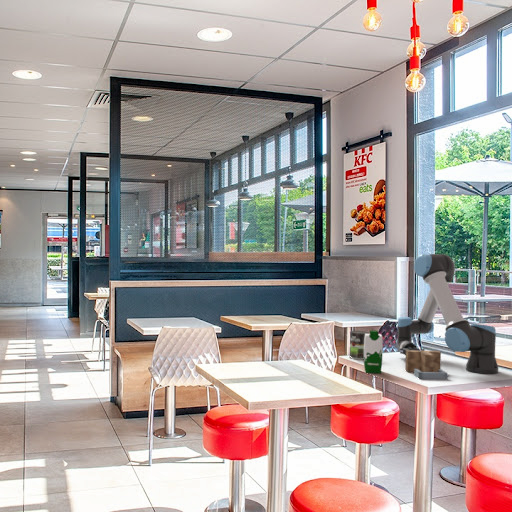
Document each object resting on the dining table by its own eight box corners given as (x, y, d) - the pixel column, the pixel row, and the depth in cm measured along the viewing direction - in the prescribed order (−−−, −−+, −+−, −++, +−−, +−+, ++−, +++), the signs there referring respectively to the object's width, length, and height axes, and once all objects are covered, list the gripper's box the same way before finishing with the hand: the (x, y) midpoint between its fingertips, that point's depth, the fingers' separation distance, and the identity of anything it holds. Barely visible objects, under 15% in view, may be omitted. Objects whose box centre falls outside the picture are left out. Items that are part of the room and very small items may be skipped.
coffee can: (360, 360, 327) (361, 333, 327) (345, 357, 335) (346, 331, 335) (372, 358, 334) (373, 332, 334) (357, 355, 342) (357, 330, 342)
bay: (441, 375, 291) (441, 369, 291) (447, 379, 282) (447, 373, 282) (414, 375, 291) (414, 368, 291) (419, 379, 282) (419, 372, 282)
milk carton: (364, 373, 293) (365, 331, 292) (362, 369, 302) (363, 328, 301) (382, 374, 292) (383, 332, 291) (380, 370, 301) (381, 329, 300)
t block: (437, 371, 302) (438, 350, 302) (445, 376, 290) (446, 355, 290) (405, 370, 302) (405, 350, 302) (411, 375, 290) (412, 354, 290)
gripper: (420, 356, 325) (433, 364, 302) (396, 355, 325) (407, 364, 302) (421, 342, 325) (434, 349, 302) (396, 341, 325) (407, 348, 302)
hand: (420, 356), depth 302 cm, fingers closed
